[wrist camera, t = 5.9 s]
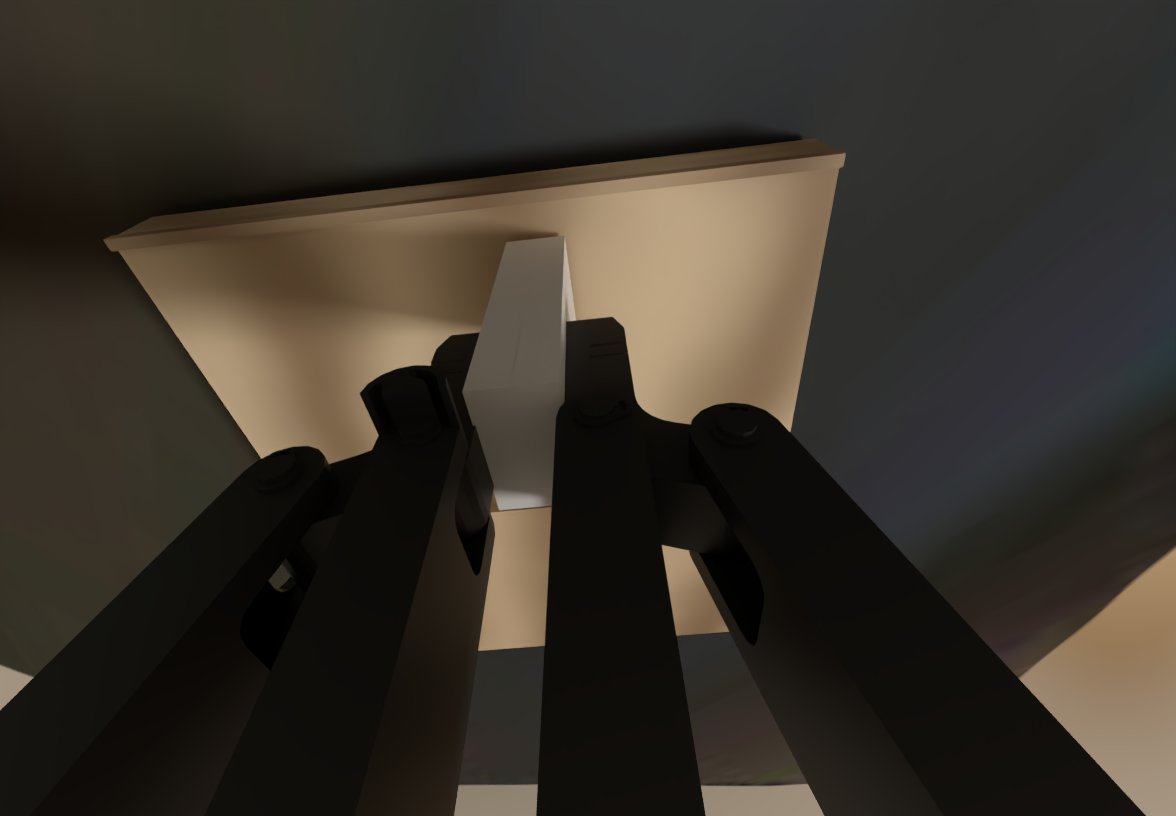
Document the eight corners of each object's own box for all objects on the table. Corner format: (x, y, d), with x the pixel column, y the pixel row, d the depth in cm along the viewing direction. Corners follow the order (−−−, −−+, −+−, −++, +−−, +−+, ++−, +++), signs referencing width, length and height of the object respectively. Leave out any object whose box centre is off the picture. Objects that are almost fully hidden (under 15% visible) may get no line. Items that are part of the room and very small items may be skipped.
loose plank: (310, 471, 20) (290, 508, 19) (150, 215, 14) (103, 240, 13) (771, 428, 20) (787, 462, 18) (815, 136, 13) (845, 153, 12)
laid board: (403, 626, 27) (395, 657, 26) (320, 486, 21) (303, 518, 20) (746, 598, 27) (755, 629, 25) (768, 445, 20) (781, 475, 19)
